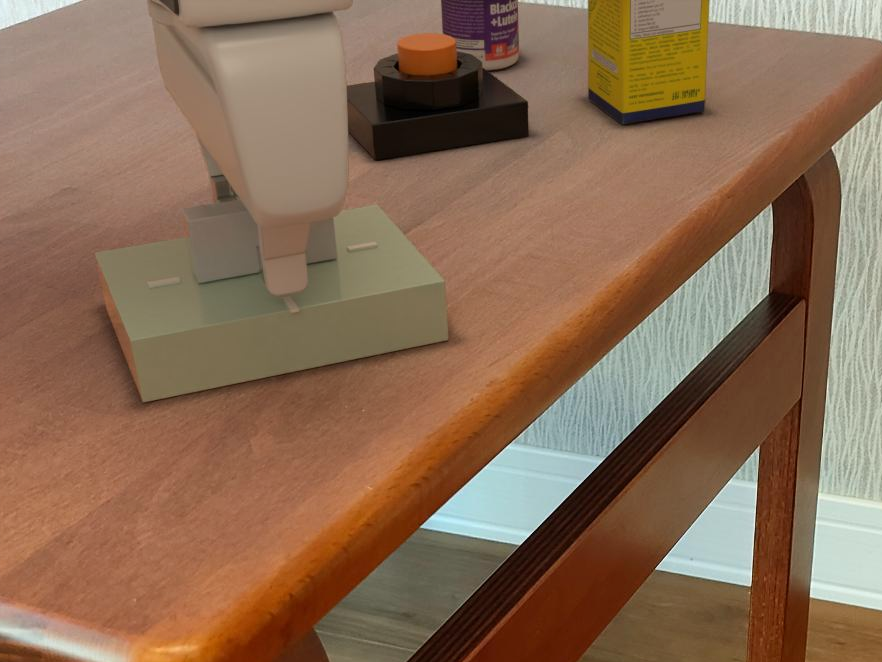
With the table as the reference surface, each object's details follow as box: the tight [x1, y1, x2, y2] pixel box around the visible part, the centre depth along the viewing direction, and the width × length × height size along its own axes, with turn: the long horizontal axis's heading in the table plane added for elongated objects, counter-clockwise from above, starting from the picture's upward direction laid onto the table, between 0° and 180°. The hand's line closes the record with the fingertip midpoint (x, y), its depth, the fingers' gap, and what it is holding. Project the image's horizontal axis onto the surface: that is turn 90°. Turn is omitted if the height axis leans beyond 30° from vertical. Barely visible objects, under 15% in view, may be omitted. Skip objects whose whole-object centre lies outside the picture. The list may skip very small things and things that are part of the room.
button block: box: [347, 51, 530, 161], centre depth 87 cm, size 10×8×4 cm
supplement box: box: [587, 0, 710, 125], centre depth 88 cm, size 6×6×11 cm
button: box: [396, 32, 457, 75], centre depth 86 cm, size 4×4×2 cm
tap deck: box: [94, 204, 449, 403], centre depth 65 cm, size 14×11×3 cm
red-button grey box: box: [181, 199, 338, 283], centre depth 64 cm, size 6×2×3 cm, turn 113°
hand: (258, 247), depth 64 cm, fingers open, 8 cm apart
